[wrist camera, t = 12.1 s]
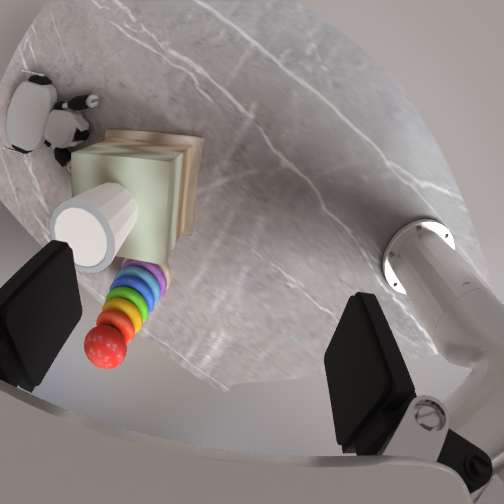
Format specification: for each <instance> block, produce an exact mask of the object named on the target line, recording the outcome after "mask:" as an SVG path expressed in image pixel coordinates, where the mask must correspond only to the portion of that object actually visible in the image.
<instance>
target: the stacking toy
mask: <svg viewBox="0 0 504 504" xmlns="http://www.w3.org/2000/svg"><path fill="white" fill-rule="evenodd" d="M170 282H171V270H170V268H169V265H168V264H167V262H166V263H165V265H160V264H155V263H150V262H144V261H139V260H134V259H128V258H124V260H123V262H122V265H121V267H120V270H119V272H118V273H117V274H116V276H115V278H114V282H113V283H112V285H111V287H110V292H109V293H108V295H107V297H106V302H105V304H104V306H103V309H102V313H101V314H100V315H99V316H98V318H97V323H96V324H97V327H94V328H93V329H92V330H90V331H89V333H88V334H87V336H86V338H85V342H84V350H85V353H86V355H87V357H88V359H89V360H90V361H91V362H92V363H93V364H94V365H96V366H97V367H100V368H104V369H111V368H114V367H117V366H118V365H119V364H120V363H121V362H122V361H123V360H124V358H125V355H126V351H127V346H126V344H127V343H129V342H130V341H131V340H132V339H133V337H134V334H135V333H137V332H138V331H139V330H140V329H141V327H142V324H143V323H144V322H145V320H146V319H147V316H148V314H149V313H150V312H151V311H152V310H153V307H154V306H155V305H156V303H157V302H158V300H159V299H161V298H162V297H163V295H164V294H165V292H166V290H167V289H168V287H169V285H170Z"/></svg>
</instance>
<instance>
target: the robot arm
mask: <svg viewBox="0 0 504 504" xmlns="http://www.w3.org/2000/svg"><path fill="white" fill-rule="evenodd" d="M382 267H383V273H384V276H385V278H386V280H387V282H388V284H389V285H390V286H391V287H392V288H393V289H394V290H396V291H397V292H400V293H403V294H407V296H408V297H409V299H410V301H411V302H412V304H413V306H414V308H415V309H416V311H417V313H418V315H419V316H420V318H421V320H422V322H423V323H424V325H425V327H426V329H427V331H428V332H429V334H430V336H431V338H432V340H433V342H434V344H435V345H436V347H437V349H438V351H439V353H440V354H441V356H442V357H443V358H444V359H445V360H447V361H448V362H449V363H451V364H453V365H456V366H459V367H463V368H468V369H472V371H471V373H470V374H469V375H468V376H467V377H466V378H465V379H464V380H463V381H462V382H461V383H460V384H459V385H458V386H457V387H456V388H455V389H453V390H452V391H451V392H450V393H449V394H448V395H446V396H445V397H444V398H443V399H441V400H440V401H439V400H437V399H436V398H434V397H431V396H426V395H423V396H418V397H417V396H416V393H415V388H414V385H413V382H412V380H411V377H410V375H409V372H408V370H407V367H406V364H405V362H404V360H403V357H402V355H401V352H400V350H399V348H398V345H397V343H396V340H395V338H394V336H393V334H392V331H391V329H390V327H389V324H388V322H387V320H386V318H385V316H384V313H383V311H382V309H381V307H380V305H379V302H378V300H377V298H376V296H375V295H374V294H370V293H363V292H357V293H356V294H355V296H350V298H349V300H348V302H347V305H346V307H345V309H344V312H343V314H342V317H341V319H340V321H339V323H338V326H337V328H336V330H335V333H334V335H333V337H332V339H331V341H330V344H329V346H328V348H327V350H326V352H325V356H324V365H325V370H326V376H327V382H328V388H329V394H330V400H331V407H332V413H333V420H334V426H335V433H336V440H337V443H338V444H339V445H342V451H343V453H356V454H357V456H330V457H329V456H289V455H270V454H258V453H247V452H238V451H230V450H223V449H216V448H209V447H202V446H197V445H191V444H186V443H181V442H176V441H171V440H166V439H161V438H157V437H154V436H149V435H145V434H141V433H137V432H134V431H130V430H126V429H123V428H120V427H116V426H113V425H110V424H107V423H104V422H100V421H97V420H94V419H91V418H89V417H86V416H83V415H80V414H77V413H75V412H72V411H69V410H67V409H64V408H62V407H59V406H57V405H54V404H51V403H49V402H47V401H44V400H42V399H40V398H38V397H35V396H33V395H31V394H29V393H27V392H25V391H22V390H21V389H18V388H16V387H17V386H18V385H19V386H20V387H21V388H23V389H25V390H27V391H29V392H31V393H32V391H33V389H34V388H35V386H38V385H40V383H41V382H42V380H43V378H44V376H45V375H46V373H47V371H48V370H49V368H50V366H51V364H52V363H53V361H54V360H55V358H56V356H57V355H58V353H59V351H60V350H61V348H62V347H63V345H64V343H65V342H66V340H67V339H68V337H69V335H70V334H71V332H72V331H73V329H74V328H75V326H76V325H77V323H78V322H79V320H80V319H81V316H82V305H81V301H80V294H79V289H78V283H77V277H76V270H75V263H74V256H73V250H72V248H71V247H69V244H68V243H67V242H63V241H58V240H52V241H50V242H49V243H48V244H47V245H46V246H44V247H43V248H42V249H41V250H40V251H39V252H38V253H37V254H36V255H34V256H33V258H31V259H30V260H29V261H28V262H27V263H26V264H25V265H24V266H23V267H22V268H21V269H20V270H18V271H17V272H16V273H15V274H14V275H13V276H12V277H11V278H10V279H9V280H8V281H7V282H6V283H5V284H4V285H3V286H2V287H1V288H0V504H504V453H503V454H501V455H500V456H498V457H497V458H496V459H494V460H493V461H491V458H493V457H494V456H496V455H497V454H498V453H500V452H501V451H503V450H504V304H503V302H502V301H501V300H500V299H499V298H498V297H497V295H496V294H495V293H494V292H493V291H492V290H491V289H490V287H489V286H488V285H487V284H486V283H485V282H484V281H483V279H482V278H481V277H480V276H479V275H478V274H477V273H476V272H475V271H474V270H473V269H472V267H471V266H470V265H469V264H468V263H467V262H466V261H465V260H464V259H463V258H462V257H461V256H460V255H459V254H458V253H457V252H456V251H455V246H454V240H453V237H452V235H451V233H450V231H449V230H448V229H447V228H446V227H445V226H444V225H443V224H441V223H440V222H438V221H435V220H432V219H422V220H417V221H414V222H411V223H409V224H408V225H406V226H404V227H403V228H402V229H400V230H399V231H398V232H397V233H396V234H395V235H394V237H393V238H392V239H391V241H390V242H389V244H388V246H387V248H386V250H385V253H384V257H383V265H382Z"/></svg>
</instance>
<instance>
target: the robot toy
mask: <svg viewBox="0 0 504 504" xmlns="http://www.w3.org/2000/svg"><path fill="white" fill-rule="evenodd" d="M21 71H22V72H28V73H33V74H37V75H35V76H31V77H30V78H29V79H28V80H25V81H22V82H21V83H20V84H19V85H18V87H17V88H16V90H15V92H14V94H13V96H12V99H11V101H10V104H9V107H8V111H7V119H6V135H7V139H8V141H9V143H10V144H12V147H13V148H14V149H15V150H13V149H10V148H6V147H2V149H4V150H5V149H6V150H10V151H13V152H17V153H19V154H21V155H23V154H26V153H29V152H31V151H33V150H34V149H37V148H39V147H40V146H41V145H42V144H43V143H45V144H46V145H47V147H52V148H53V149H54V154H55V159H56V160H57V161H58V162H59V163H60V165H61V166H62V167H64V166H66V167H67V170H68V171H69V172H71V153H70V152H69V150H68V149H67V148H66V147H69V146H76V145H78V144H80V143H82V142H83V141H84V140H86V139H87V138H88V136H89V132H88V130H87V129H89V124H88V122H87V121H86V120H85V119H84V118H83V116H82V114H81V113H80V112H79V111H77V110H83V109H87V108H89V107H91V108H94V107H96V106H97V105H98V101H97V102H94V99H98V96H97V95H95V94H91V95H90V96H88V95H84V96H78V97H75V98H73V99H72V100H71V101H69V102H68V103H65V102H64V101H61V102H57V92H56V89H55V87H54V86H53V85H52V84H51V83H52V81H51V80H50V79H48V78H47V77H45V76H44V75H45V74H44V73H36V72H31V71H27V70H21ZM67 108H70V109H67Z"/></svg>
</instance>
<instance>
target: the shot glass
mask: <svg viewBox="0 0 504 504" xmlns="http://www.w3.org/2000/svg"><path fill="white" fill-rule="evenodd" d="M137 211H138V207H137V204H136V201H135V198H134V196H133V195H132V194H131V193H130V191H129V190H128V189H127V188H125V187H124V186H122V185H120V184H118V183H111V182H108V183H105V184H102V185H99V186H97V187H95V188H92V189H90V190H88V191H86V192H84V193H82V194H79V195H77V196H75V197H73V198H71V199H69V200H67V201H65V202H63V203H61V204H59V205H58V207H57V208H56V209H55V210H54V212H53V213H52V216H51V221H50V225H49V227H50V235H51V240H58V241H63V242H67V243H68V244H69V247H71V248H72V250H73V256H74V263H75V269H76V270H78V271H81V272H85V273H90V274H91V273H96V272H101V271H103V270H104V269H105V268H106V267H107V266H109V265H110V264H111V262H112V261H113V259H114V257H115V255H116V254H117V252H118V250H119V249H120V247H121V245H122V244H123V242H124V240H125V239H126V237H127V236H128V234H129V232H130V231H131V229H132V228H133V226H134V224H135V222H136V219H137Z"/></svg>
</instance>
